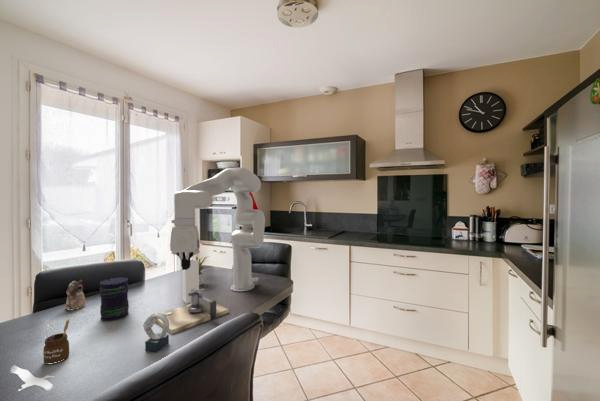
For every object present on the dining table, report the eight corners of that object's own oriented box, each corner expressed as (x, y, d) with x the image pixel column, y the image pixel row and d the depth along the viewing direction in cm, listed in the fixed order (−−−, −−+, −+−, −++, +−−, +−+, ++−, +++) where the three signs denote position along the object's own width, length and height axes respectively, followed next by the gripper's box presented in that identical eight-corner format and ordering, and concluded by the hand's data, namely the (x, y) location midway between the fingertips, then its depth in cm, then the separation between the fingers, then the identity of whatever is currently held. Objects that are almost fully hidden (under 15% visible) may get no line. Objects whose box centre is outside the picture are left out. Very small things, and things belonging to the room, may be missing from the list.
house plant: (201, 278, 167) (201, 251, 166) (216, 282, 159) (216, 254, 158) (179, 284, 155) (179, 255, 155) (194, 289, 147) (193, 259, 147)
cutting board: (206, 301, 130) (206, 296, 130) (228, 312, 118) (228, 307, 118) (151, 319, 112) (151, 313, 112) (171, 334, 100) (171, 327, 100)
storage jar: (134, 312, 118) (133, 278, 118) (112, 323, 109) (111, 285, 109) (117, 309, 122) (116, 276, 121) (94, 319, 112) (93, 282, 112)
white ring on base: (153, 341, 95) (152, 309, 95) (173, 344, 93) (172, 312, 93) (140, 350, 90) (139, 316, 90) (161, 353, 88) (160, 319, 88)
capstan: (183, 309, 117) (183, 291, 117) (201, 303, 123) (201, 286, 123) (205, 322, 106) (205, 302, 105) (223, 315, 112) (223, 296, 111)
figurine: (63, 307, 124) (63, 281, 124) (83, 303, 129) (83, 277, 129) (66, 312, 119) (65, 284, 119) (86, 307, 125) (86, 280, 124)
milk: (186, 304, 128) (185, 256, 127) (182, 300, 132) (181, 254, 132) (199, 301, 131) (198, 254, 130) (195, 297, 136) (194, 252, 135)
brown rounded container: (51, 355, 87) (50, 317, 87) (74, 352, 89) (73, 315, 88) (38, 366, 81) (37, 326, 81) (63, 363, 83) (62, 324, 83)
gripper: (161, 223, 105) (162, 271, 106) (199, 223, 105) (200, 271, 105) (171, 221, 113) (172, 266, 113) (207, 221, 112) (208, 266, 113)
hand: (185, 268), depth 109 cm, fingers closed
